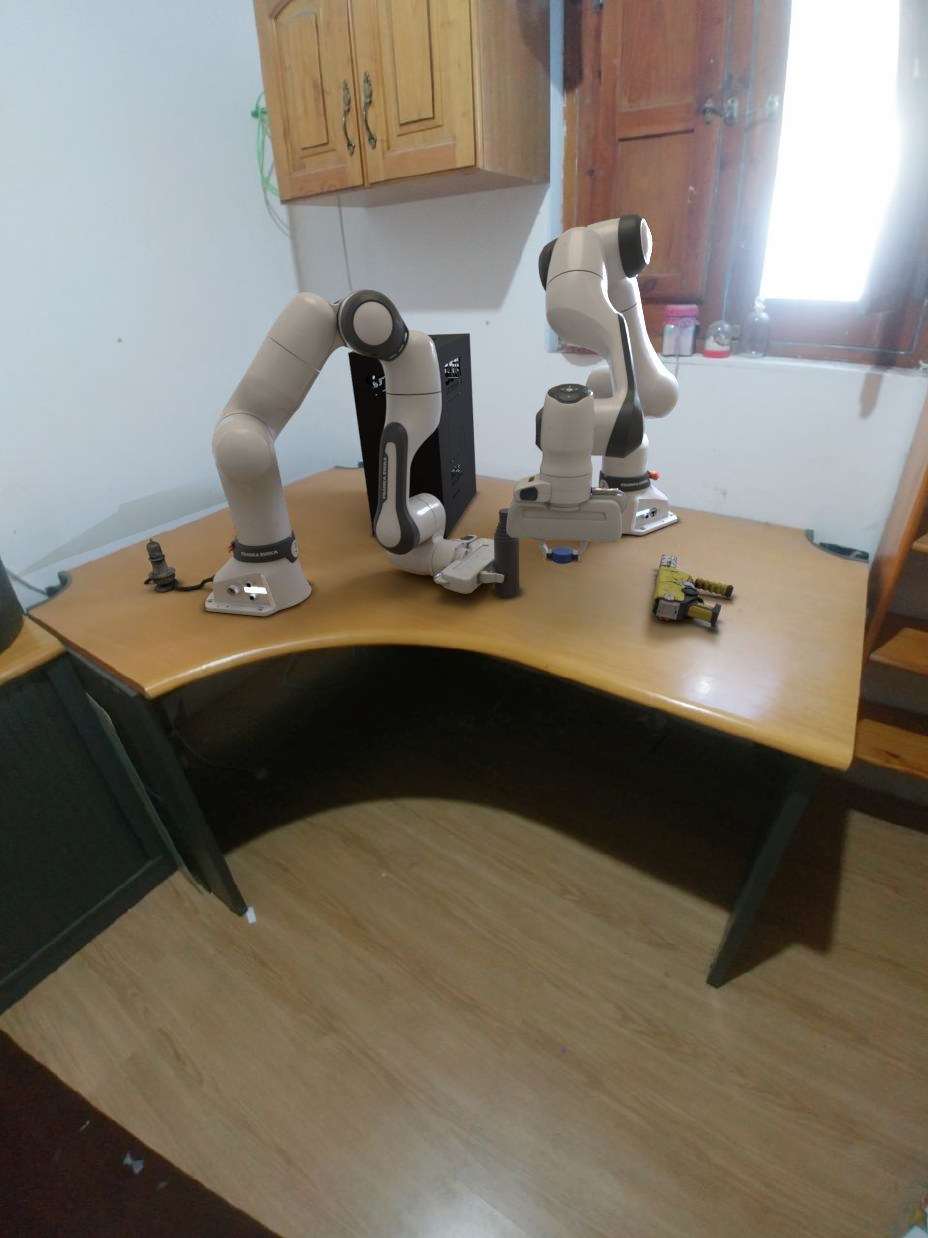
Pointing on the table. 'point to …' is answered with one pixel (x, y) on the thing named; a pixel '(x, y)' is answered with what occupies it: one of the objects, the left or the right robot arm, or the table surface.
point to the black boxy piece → (442, 446)
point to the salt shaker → (160, 568)
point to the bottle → (506, 558)
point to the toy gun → (684, 594)
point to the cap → (562, 555)
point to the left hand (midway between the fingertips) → (511, 571)
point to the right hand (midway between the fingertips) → (562, 560)
